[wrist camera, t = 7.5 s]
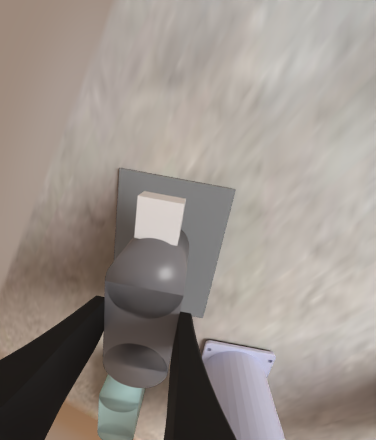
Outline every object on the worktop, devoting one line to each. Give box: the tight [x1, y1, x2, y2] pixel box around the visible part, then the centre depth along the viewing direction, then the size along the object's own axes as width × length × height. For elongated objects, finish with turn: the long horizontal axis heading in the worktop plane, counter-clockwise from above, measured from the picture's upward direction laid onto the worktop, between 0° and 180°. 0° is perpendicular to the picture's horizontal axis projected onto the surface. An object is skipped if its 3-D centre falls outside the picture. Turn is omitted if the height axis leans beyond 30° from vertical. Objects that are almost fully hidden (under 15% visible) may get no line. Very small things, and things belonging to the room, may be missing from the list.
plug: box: [103, 191, 189, 388], centre depth 12 cm, size 12×4×4 cm, turn 170°
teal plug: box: [98, 374, 145, 440], centre depth 22 cm, size 12×4×4 cm, turn 170°
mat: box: [114, 168, 235, 318], centre depth 18 cm, size 14×10×1 cm
